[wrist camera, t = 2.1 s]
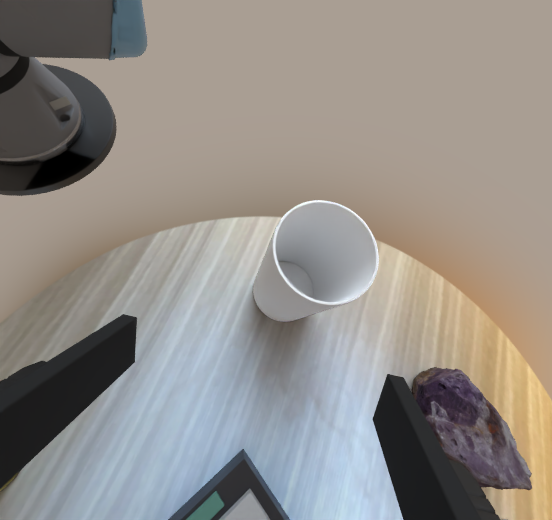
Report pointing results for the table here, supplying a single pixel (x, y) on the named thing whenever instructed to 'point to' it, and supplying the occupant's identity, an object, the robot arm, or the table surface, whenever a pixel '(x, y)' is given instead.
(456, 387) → the rock
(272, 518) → the scale
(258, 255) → the table surface
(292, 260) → the cup
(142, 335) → the table surface
